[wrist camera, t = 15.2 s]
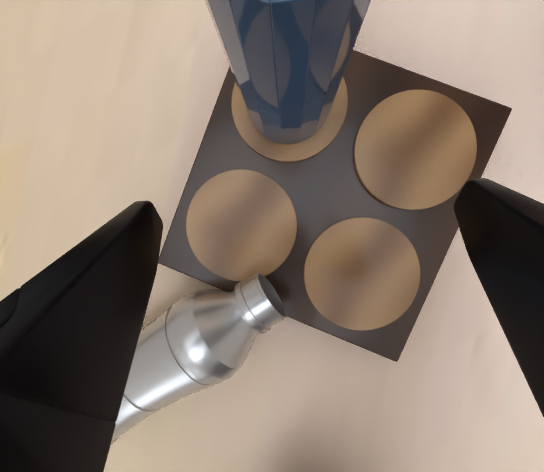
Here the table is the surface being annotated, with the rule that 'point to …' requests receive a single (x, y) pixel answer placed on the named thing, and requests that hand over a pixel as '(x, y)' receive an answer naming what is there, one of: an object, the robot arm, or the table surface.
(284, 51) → the tumbler
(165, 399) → the silver metal bottle
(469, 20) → the table surface
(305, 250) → the coaster board
